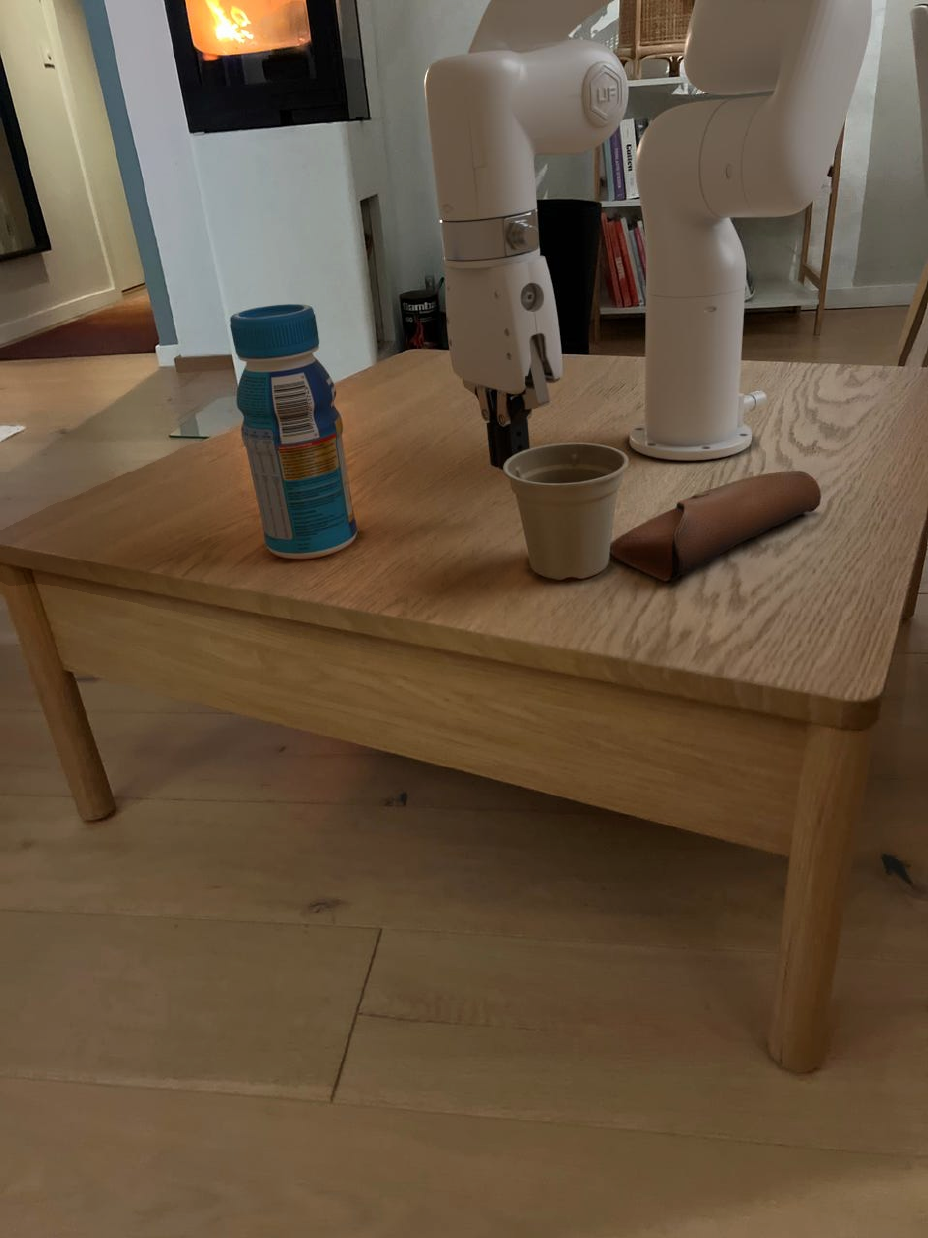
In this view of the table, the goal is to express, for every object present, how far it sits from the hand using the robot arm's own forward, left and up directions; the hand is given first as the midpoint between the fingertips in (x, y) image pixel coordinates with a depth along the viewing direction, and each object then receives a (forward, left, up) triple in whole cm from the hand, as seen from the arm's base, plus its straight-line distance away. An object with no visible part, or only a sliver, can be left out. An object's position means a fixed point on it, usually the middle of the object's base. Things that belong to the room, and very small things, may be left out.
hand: (510, 463), depth 79 cm
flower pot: (+3, +11, -6) cm, 12 cm away
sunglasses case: (-9, +15, -6) cm, 18 cm away
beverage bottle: (+16, -9, -6) cm, 19 cm away
